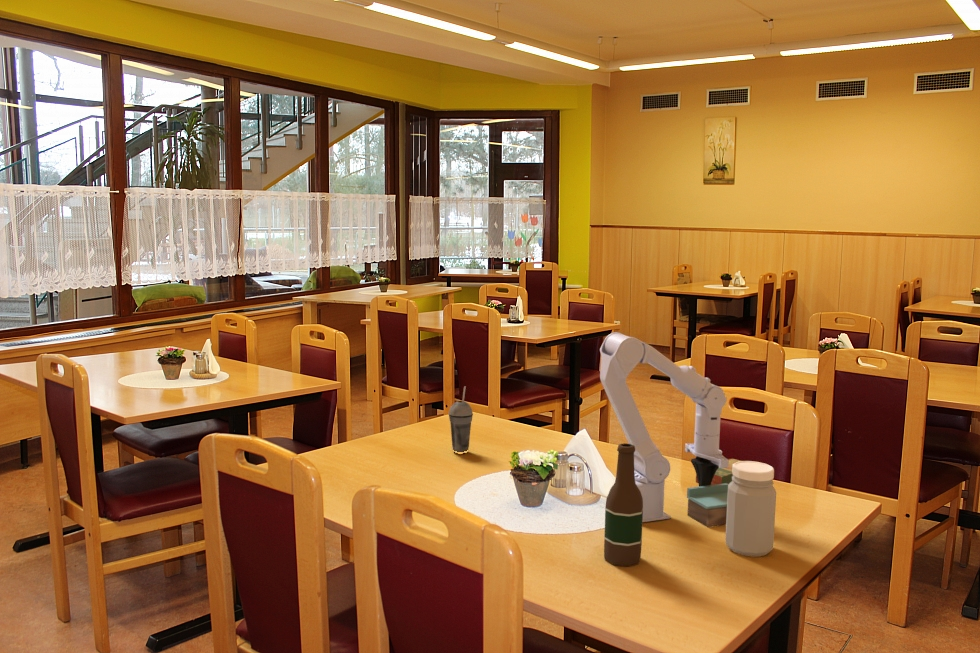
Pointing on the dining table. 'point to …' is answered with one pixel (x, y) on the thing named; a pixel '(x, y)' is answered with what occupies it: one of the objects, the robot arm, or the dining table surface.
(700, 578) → the dining table surface
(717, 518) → the box
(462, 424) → the beverage cup
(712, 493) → the lid
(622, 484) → the beer bottle
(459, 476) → the dining table surface
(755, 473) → the jar
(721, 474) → the carton
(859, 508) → the dining table surface
